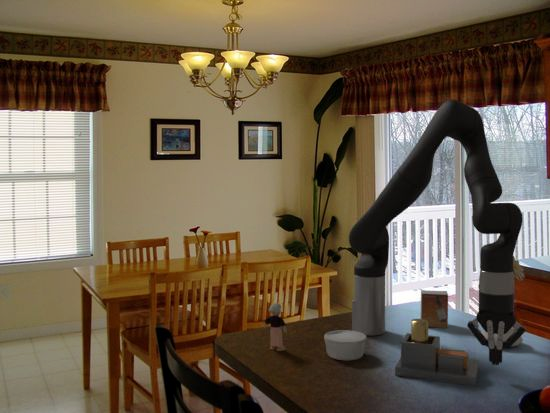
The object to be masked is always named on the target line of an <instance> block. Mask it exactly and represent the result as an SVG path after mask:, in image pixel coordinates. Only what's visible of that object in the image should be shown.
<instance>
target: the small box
mask: <svg viewBox="0 0 550 413" xmlns="http://www.w3.org/2000/svg"><path fill="white" fill-rule="evenodd" d="M448 316H449V294H448V291H447V290H427V289H426V290H425V289H421V290H420V318H419V319H425V320H428V328H440V329H448V323H449V322H448V321H449V319H448V318H449V317H448Z"/></svg>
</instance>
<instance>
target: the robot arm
mask: <svg viewBox="0 0 550 413" xmlns="http://www.w3.org/2000/svg"><path fill="white" fill-rule="evenodd" d="M484 125H485V124H484V121H483V118H482V116H481V113H480V112H479V111H478V110H477V109H475V108H473V107H472V106H469V105H468V104H466V103H463V102H461V101H459V100H456V99H448V100H446V101H444V103H442V104H441V105H440V107H439V108H437V110H436V111H435V113H434V114H433V116H432V118H431V119H430V121H429V122H428V124H427V126H426V128H425V129H424V131H423V132H422V133H421V136H420V138H419V139H418V141H417V143H416V144H415V145H414V146H413V148H412V150H411V151H410V152H409V154H408V155H407V157H406V158H405V159H404V161H403V162H402V163H401V165H400V166H399V167H398V168H397V170H396V171H395V173H394V174H393V175H392V176H391V178H390V180H389V181H388V183H387V184H386V185H385V186H384V188H383V190H381V192H380V194H379V195H378V196H377V198H376V199H375V200H374V202H373V204H372V205H371V206H370V207H369V209H367V211H366V212H365V213H364V214H363V215H362V216H361V217H360V218H359V219H358V221H357V222H355V224H354V225H353V226H352V227H351V229H350V232H349V235H348V243H349V246H350V247H351V249H352V250H353V252H356V253H358V254H361V255H360V258H359V260H358V261H357V262H356V263H355V265H354V268H353V299H352V300H351V302H352V303H351V321H352V322H351V331H357V332H361V333H363V334H365V335H366V336H379V335H383V334H385V332H386V269H387V267H388V264H389V256H390V255H389V252H390V234H389V231H388V230H389V229H388V228H387V227H388V226H389V224H390V223H391V222H392V221H393V220H395V219H396V218H397V217H398V216H399V215H401V214H402V213H403V212H405V211H406V210H407V209H408V208H410V207H411V206H412V205H413V204H414V203H415V202H416V201H417V200H418V199H419V197H420V196H421V195H422V194H423V192H424V191H425V189H426V188H427V187H428V186H429V184H430V182H431V180H432V174H433V168H434V167H433V166H434V158H435V156H436V154H437V153H436V152H437V150H438V149H439V148H440V146H441V144H442V143H443V142H444V140H445V139H446V138H447V137H448V138H450V139H452V140H454V141H458V142H459V143H460V144H461V146H462V148H463V149H464V151H465V153H466V158H465V162H464V168H463V174H464V180H465V182H466V185H467V187H468V190H469V193H470V196H471V205H472V206H471V207H472V210H471V211H472V215H471V217H472V218H471V219H472V225H473V227H474V228H475V230H476V231H478V232H479V233H481V234H483V235H499V236H498V238H497V239H496V240H495V241H494V242H490V243H487V244H484V245H483V246H482V247H481V248H480V253H479V254H480V258H479V259H480V261H479V264H480V266H479V267H480V268H479V276H478V277H479V278H478V286H477V287H478V288H477V289H478V312H477V314H476V317H475V318H474V319H472V320H468V322H467V328H468V329H469V330H470V332H471V333H472V335H473V336H474V337H475V338H476V340H477V341H478V343H479V344H480V345H481V346H485V347H487V348H488V361H489V363H491V365H492V366H500V364H502V363H503V350H505V349H510V348H512V347H513V346H512V345H513V344H514V343H515V342H516V341H517V340H518V339H519V338H520V337H522V335H524V333H525V332H526V326H525V325H523V324H521V323H519V322H518V321H517V318H516V315H515V313H514V312H515V279H514V278H515V277H514V275H513V256H514V252H515V249H516V246H517V243H518V242H517V241H518V238H519V235H520V232H521V230H522V225H523V213H522V210H521V208H520V207H519V206H518V205H517V204H516V203H514V202H495V201H498V200H499V199H500V198H501V196H502V195H503V187H502V184H501V182H500V179H499V177H498V175H497V172H496V169H495V168H494V164H493V162H492V159H491V156H490V153H489V147H488V143H487V137H486V132H485V126H484ZM480 326H481V328H482V330H485V331H486V332H487V333H488V339H486V338H485V337H484V335H483V334H482V333H481V330H480V329H479V327H480ZM511 328H513V331H514V333H513V334H512V335H511V336H510V337H509V338H508V339H507V340H506V341H503V335H504V334H506V333H507V332H508V331H509V330H510V329H511ZM494 334H498V337H497V346H495V341H494ZM511 346H512V347H511Z"/></svg>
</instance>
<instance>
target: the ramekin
mask: <svg viewBox="0 0 550 413" xmlns="http://www.w3.org/2000/svg"><path fill="white" fill-rule="evenodd" d="M323 338H324V339H323V340H324V342H325V343H324V344H325V349H326V353H327V355H328V356H329V357H330V358H331V359H334V360H338V361H356V360H359V359H361V358H362V357H363V356H364V354H365V349H366V342H367V341H368V340H367V335H365V334H363V333H361V332H357V331H352V330H346V329H341V330H339V329H338V330H332V331H327V332H326V333H325V334H324V336H323Z"/></svg>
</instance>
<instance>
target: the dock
mask: <svg viewBox="0 0 550 413" xmlns="http://www.w3.org/2000/svg"><path fill="white" fill-rule="evenodd" d="M440 337H441V336H440V335H439V336H438V335H429V334H428V344H424V343H415V342H411V332H410V333H409V332H407V333H406V334H405V336H404V337H403V339H402V340H401V342H400V357H399V358H400V359H399V360H398V361H397V363H396V364H395V366H394V375H395V376H396V377H397V376H398V377H404V378H405V377H406V378H414V379H421V380H427V381H435V382H444V383H450V384H459V385H465V386H472V387H473V386H474V387H476V384H477V380H478V375H479V374H478V373H479V366H480V365H479V364H480V361H479V360H478V359H477V360H476V359H469V358H468V365H467V369H463V357H461V356H452V355H443V354H439V355H438V365H437V350H438V349H441V350H450V351H459V352H466V350H460V349H452V348H442V347H441V346H440V344H441V342H440V341H441V338H440Z"/></svg>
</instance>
